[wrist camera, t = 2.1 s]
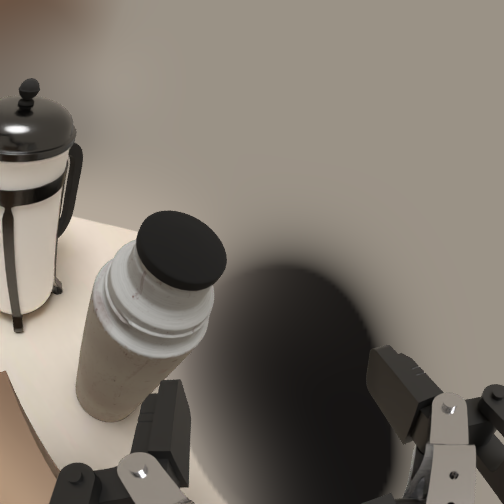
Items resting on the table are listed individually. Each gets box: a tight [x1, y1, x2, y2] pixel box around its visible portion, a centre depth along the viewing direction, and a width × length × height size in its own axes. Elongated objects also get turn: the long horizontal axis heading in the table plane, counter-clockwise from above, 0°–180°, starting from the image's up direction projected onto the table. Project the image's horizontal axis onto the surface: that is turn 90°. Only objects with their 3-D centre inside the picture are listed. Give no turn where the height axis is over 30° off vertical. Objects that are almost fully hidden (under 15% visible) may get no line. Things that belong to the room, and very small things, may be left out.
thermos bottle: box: [76, 211, 227, 422], centre depth 23 cm, size 8×8×28 cm
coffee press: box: [0, 78, 83, 332], centre depth 28 cm, size 17×16×30 cm
